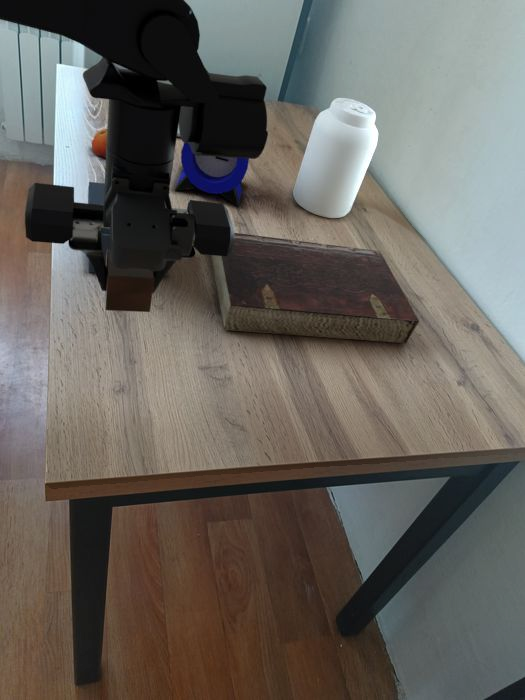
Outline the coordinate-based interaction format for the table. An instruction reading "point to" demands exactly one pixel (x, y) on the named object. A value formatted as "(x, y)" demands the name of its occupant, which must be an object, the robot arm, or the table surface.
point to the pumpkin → (100, 143)
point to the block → (128, 288)
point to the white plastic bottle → (336, 158)
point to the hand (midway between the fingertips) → (127, 289)
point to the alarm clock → (212, 174)
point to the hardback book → (310, 291)
